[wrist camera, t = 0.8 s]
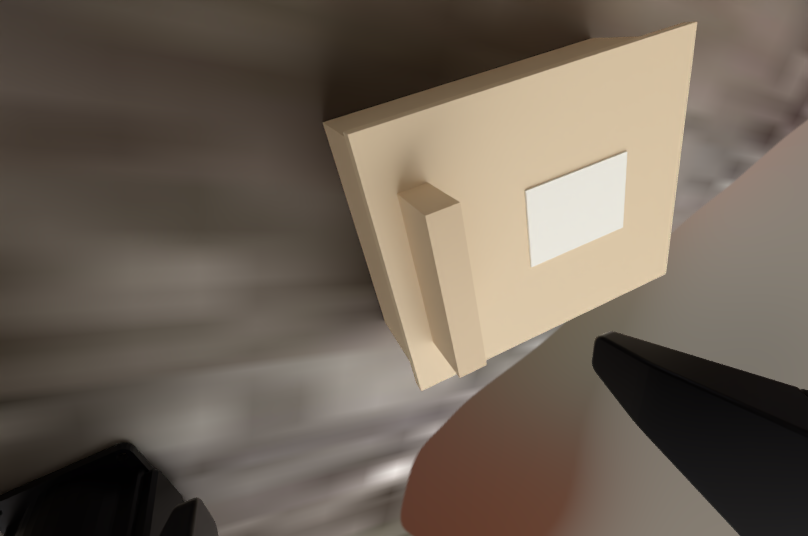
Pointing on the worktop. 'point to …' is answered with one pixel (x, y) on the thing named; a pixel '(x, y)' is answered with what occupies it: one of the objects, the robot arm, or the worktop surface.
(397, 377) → the worktop surface
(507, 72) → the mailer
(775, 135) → the worktop surface
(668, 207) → the lid
